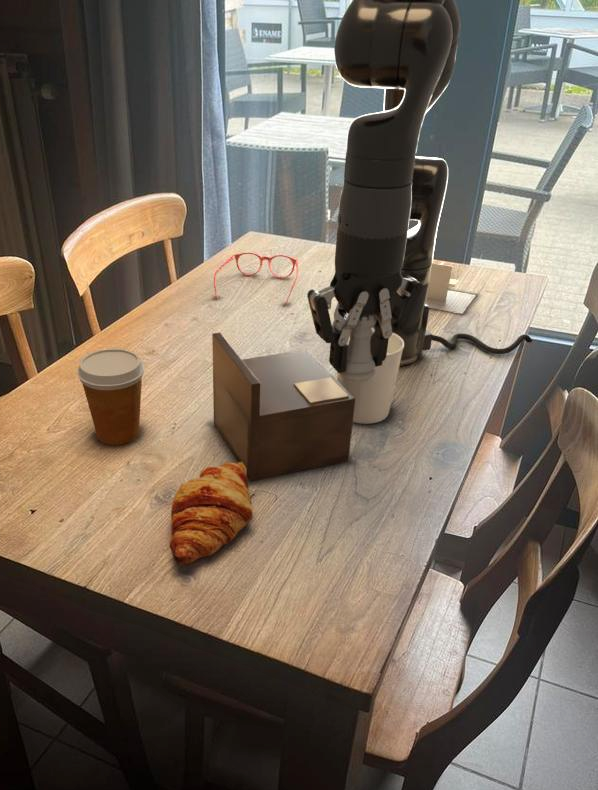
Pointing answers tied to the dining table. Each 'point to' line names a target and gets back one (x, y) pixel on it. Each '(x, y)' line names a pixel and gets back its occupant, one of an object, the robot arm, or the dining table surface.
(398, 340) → the candle holder
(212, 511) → the croissant
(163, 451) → the dining table surface
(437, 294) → the architectural model
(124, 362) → the disposable coffee cup
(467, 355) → the dining table surface
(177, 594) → the dining table surface
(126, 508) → the dining table surface
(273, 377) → the walnut shelf
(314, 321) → the robot arm
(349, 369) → the rook chess piece
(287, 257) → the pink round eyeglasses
